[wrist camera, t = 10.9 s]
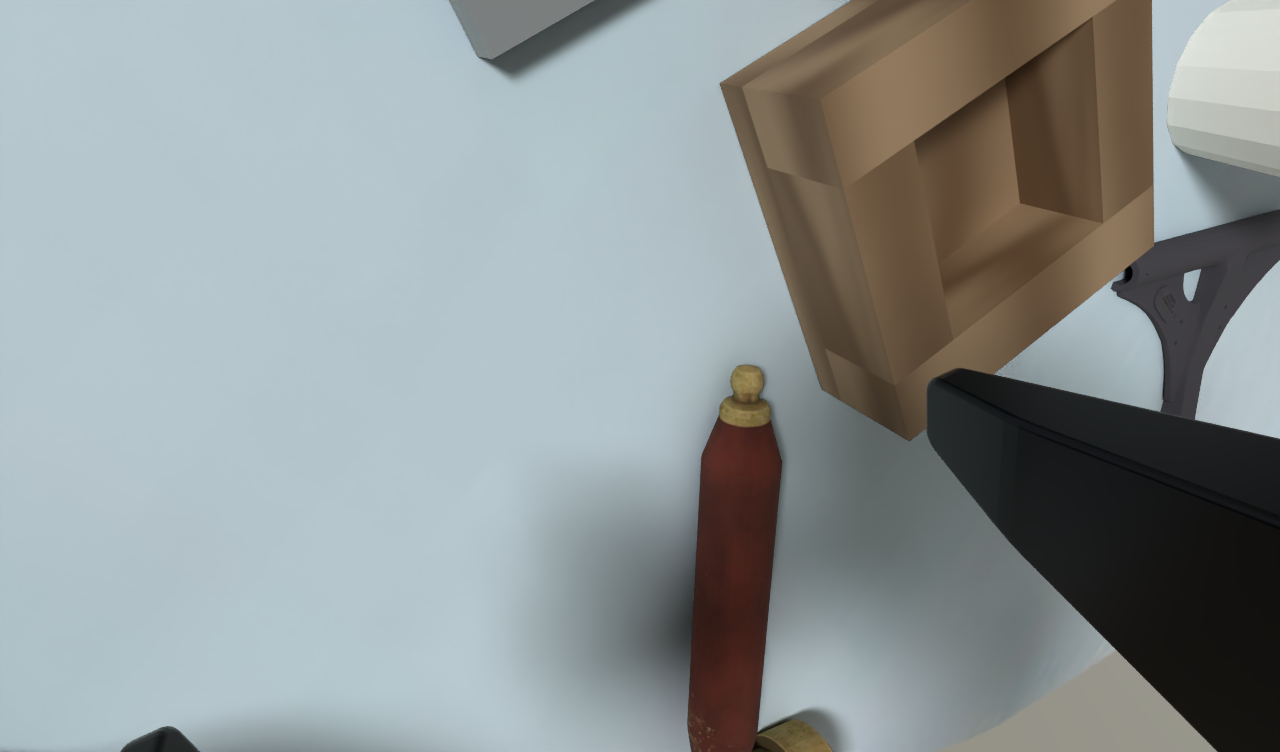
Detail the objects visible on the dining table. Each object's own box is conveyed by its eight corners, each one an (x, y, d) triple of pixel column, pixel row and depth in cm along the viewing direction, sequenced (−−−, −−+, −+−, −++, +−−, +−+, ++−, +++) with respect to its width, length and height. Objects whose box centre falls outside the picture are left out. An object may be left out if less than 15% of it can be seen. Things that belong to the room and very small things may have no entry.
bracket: (1035, 538, 40) (1088, 570, 38) (1105, 247, 33) (1173, 265, 31) (1206, 456, 46) (1259, 480, 44) (1293, 197, 39) (1361, 209, 37)
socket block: (821, 389, 27) (909, 441, 24) (719, 83, 21) (820, 99, 18) (1046, 218, 30) (1154, 245, 26) (1015, -103, 23) (1150, -118, 20)
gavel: (640, 421, 20) (924, 364, 25) (565, 365, 24) (825, 325, 29) (627, 985, 28) (848, 860, 32) (571, 875, 31) (777, 777, 36)
